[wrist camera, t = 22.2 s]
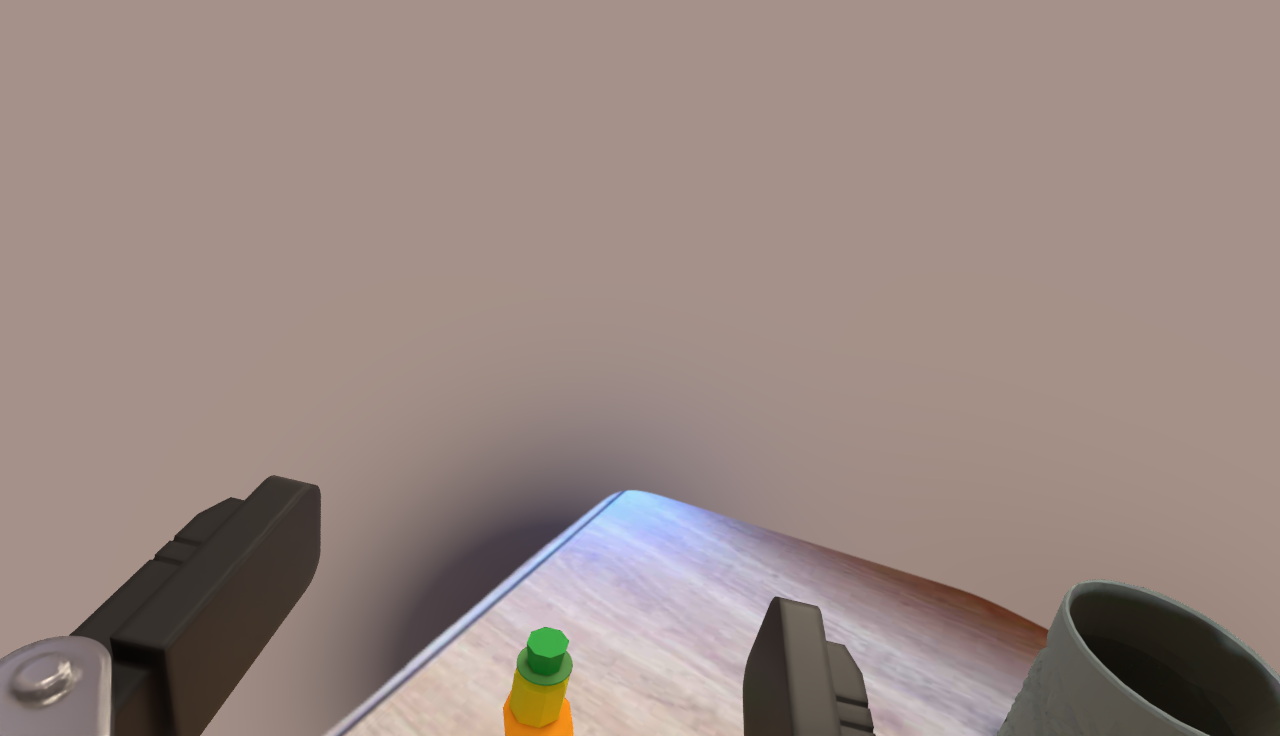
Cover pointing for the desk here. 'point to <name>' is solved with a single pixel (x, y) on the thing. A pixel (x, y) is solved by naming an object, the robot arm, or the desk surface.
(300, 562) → the robot arm
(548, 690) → the toy figure
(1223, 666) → the grey green cup
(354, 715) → the desk surface
